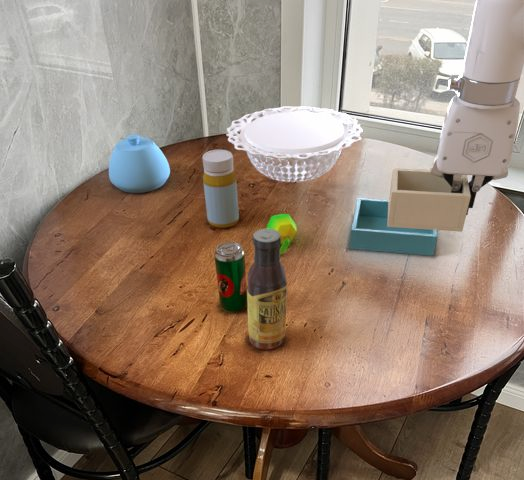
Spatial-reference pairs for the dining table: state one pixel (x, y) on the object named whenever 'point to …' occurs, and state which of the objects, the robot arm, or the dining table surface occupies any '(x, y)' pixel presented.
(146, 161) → the sugar bowl
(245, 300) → the soda can
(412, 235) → the bin
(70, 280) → the dining table surface
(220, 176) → the bottle
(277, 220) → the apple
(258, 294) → the sauce bottle
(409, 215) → the lone bin
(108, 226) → the dining table surface
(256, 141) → the white lattice bowl
